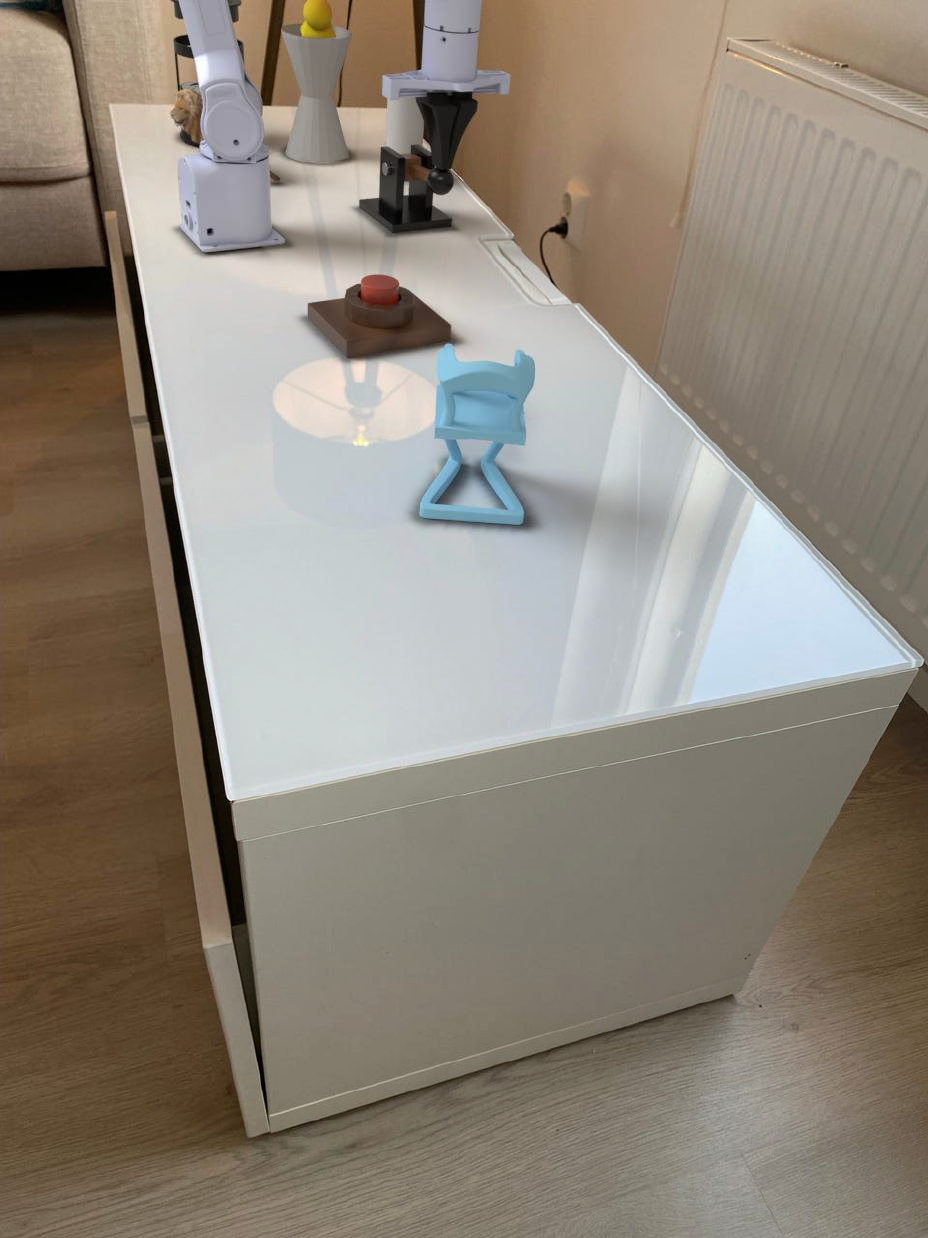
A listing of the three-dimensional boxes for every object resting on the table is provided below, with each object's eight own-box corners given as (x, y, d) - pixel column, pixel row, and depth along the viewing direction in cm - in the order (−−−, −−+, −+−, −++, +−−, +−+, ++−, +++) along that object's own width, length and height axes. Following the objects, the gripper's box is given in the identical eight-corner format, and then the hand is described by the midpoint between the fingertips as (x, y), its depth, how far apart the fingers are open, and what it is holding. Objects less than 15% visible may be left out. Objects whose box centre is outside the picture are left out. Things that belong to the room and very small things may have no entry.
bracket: (451, 228, 121) (457, 160, 116) (392, 235, 117) (395, 165, 112) (416, 203, 126) (420, 137, 121) (358, 209, 123) (360, 141, 118)
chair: (518, 466, 81) (539, 324, 73) (523, 526, 74) (546, 378, 67) (422, 459, 80) (433, 315, 72) (419, 518, 74) (430, 368, 66)
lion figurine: (168, 167, 128) (161, 90, 123) (191, 157, 132) (185, 82, 126) (271, 190, 125) (268, 112, 119) (291, 179, 129) (289, 103, 123)
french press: (249, 151, 136) (240, -50, 121) (177, 148, 135) (159, -56, 120) (249, 127, 145) (241, -64, 130) (182, 123, 143) (166, -70, 129)
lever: (458, 196, 113) (459, 167, 111) (435, 198, 112) (435, 169, 110) (412, 177, 120) (413, 150, 119) (390, 179, 119) (390, 151, 117)
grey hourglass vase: (282, 142, 141) (274, -174, 118) (347, 145, 142) (351, -166, 120) (285, 163, 134) (278, -169, 111) (353, 165, 136) (359, -160, 113)
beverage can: (419, 185, 132) (425, 84, 124) (383, 181, 132) (386, 80, 124) (421, 174, 136) (427, 75, 128) (386, 170, 135) (389, 71, 128)
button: (371, 309, 94) (371, 291, 92) (354, 294, 96) (354, 276, 95) (405, 304, 95) (406, 286, 94) (387, 289, 97) (388, 271, 96)
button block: (346, 359, 92) (347, 322, 90) (307, 319, 98) (306, 284, 96) (450, 341, 97) (453, 306, 95) (407, 304, 103) (408, 270, 100)
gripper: (407, 37, 97) (400, 183, 106) (531, 34, 103) (515, 172, 112) (374, 21, 102) (371, 162, 110) (496, 19, 108) (483, 153, 117)
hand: (441, 166), depth 112 cm, fingers closed
